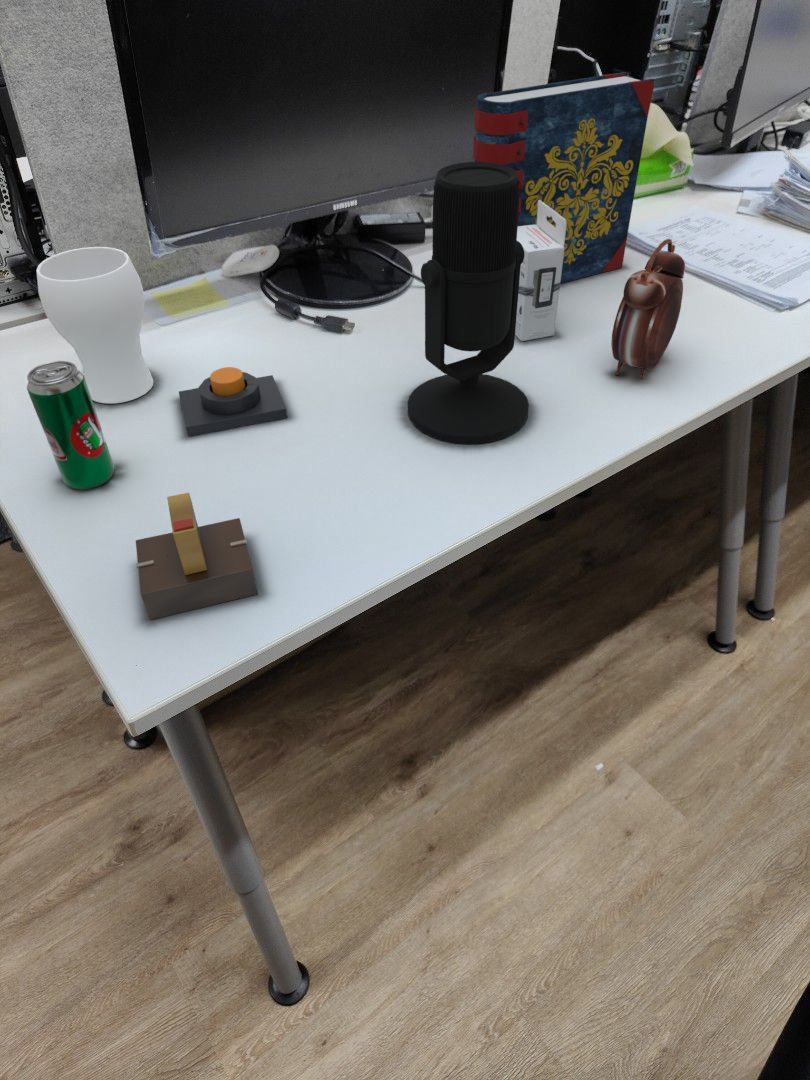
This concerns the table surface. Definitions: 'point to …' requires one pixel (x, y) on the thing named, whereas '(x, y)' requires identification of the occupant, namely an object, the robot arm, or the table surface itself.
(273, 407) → the block
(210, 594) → the plate
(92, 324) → the cup
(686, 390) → the table surface
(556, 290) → the ink box
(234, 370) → the bell button
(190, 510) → the lock knob
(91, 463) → the soda can
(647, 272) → the alarm clock
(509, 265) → the microphone
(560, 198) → the book
